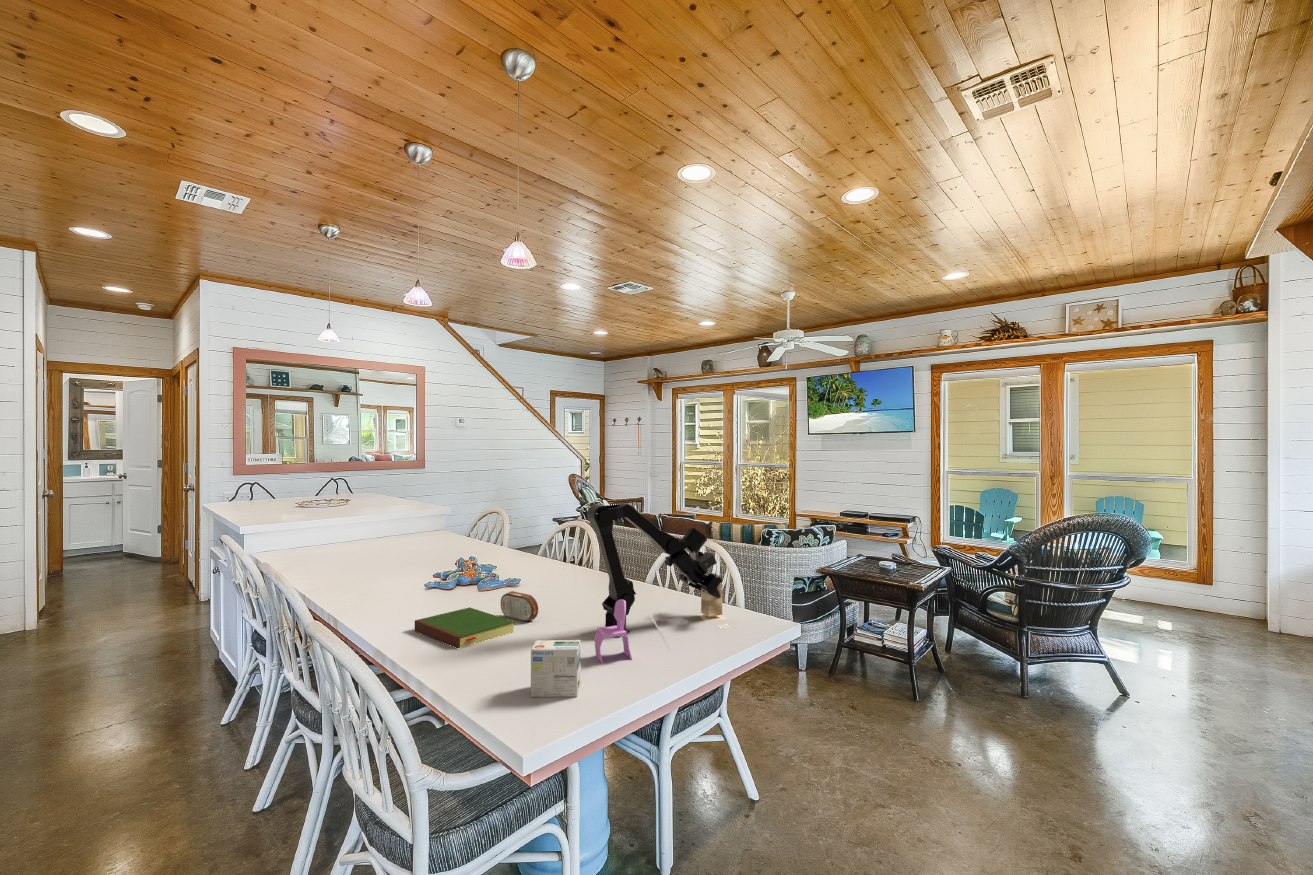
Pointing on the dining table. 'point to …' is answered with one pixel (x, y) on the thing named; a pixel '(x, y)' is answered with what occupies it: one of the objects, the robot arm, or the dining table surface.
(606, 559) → the robot arm
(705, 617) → the slate board
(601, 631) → the toy chair
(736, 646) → the dining table surface
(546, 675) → the light bulb box
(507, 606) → the tin
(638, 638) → the dining table surface
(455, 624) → the hardcover book
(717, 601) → the maple block
